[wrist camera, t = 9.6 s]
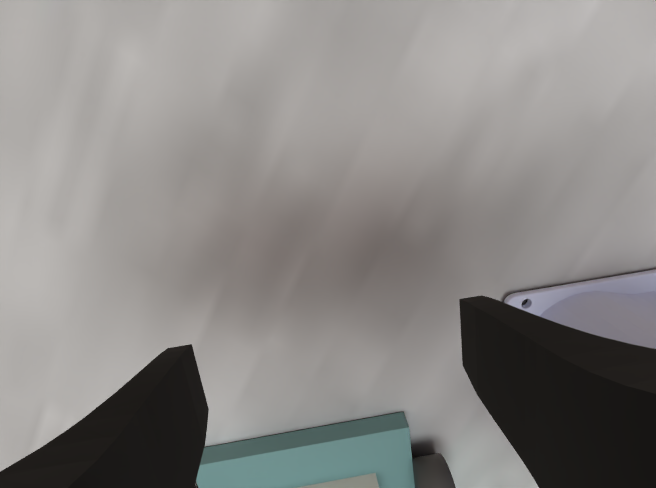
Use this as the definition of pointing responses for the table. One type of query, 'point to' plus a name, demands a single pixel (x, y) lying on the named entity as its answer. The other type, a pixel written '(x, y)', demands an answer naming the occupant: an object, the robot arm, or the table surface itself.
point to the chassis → (326, 459)
